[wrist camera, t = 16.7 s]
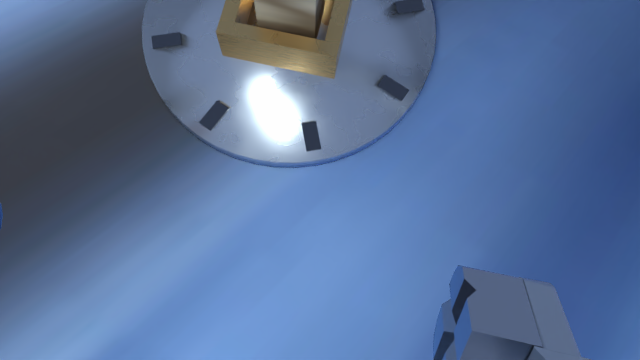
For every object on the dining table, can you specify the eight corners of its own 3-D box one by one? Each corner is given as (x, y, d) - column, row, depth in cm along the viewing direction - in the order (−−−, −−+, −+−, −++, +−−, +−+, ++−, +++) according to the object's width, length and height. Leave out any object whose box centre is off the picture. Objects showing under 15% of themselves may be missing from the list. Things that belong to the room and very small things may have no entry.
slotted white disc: (451, -55, 42) (466, -97, 38) (406, 197, 36) (419, 179, 32) (193, -107, 42) (181, -153, 38) (107, 132, 37) (82, 107, 33)
